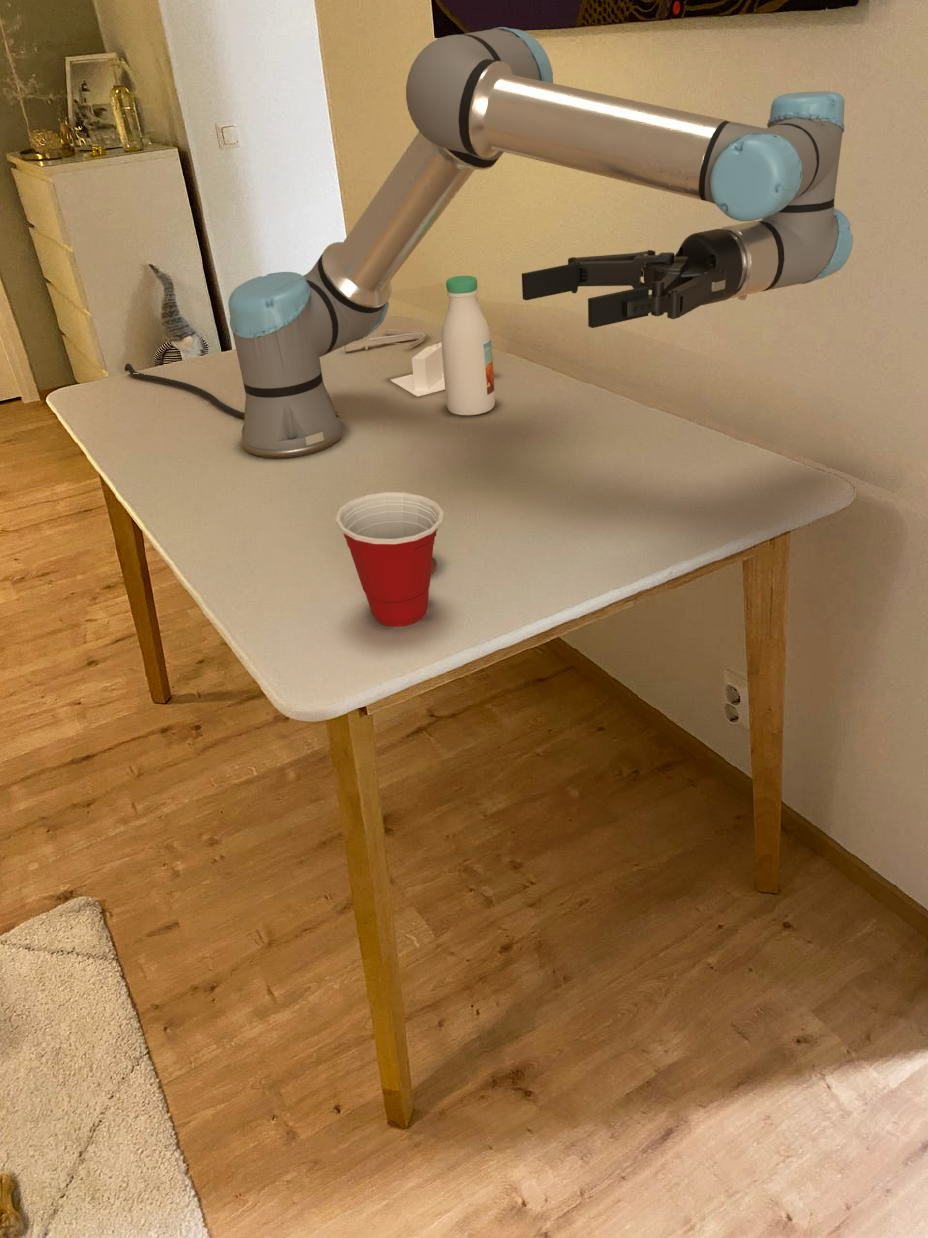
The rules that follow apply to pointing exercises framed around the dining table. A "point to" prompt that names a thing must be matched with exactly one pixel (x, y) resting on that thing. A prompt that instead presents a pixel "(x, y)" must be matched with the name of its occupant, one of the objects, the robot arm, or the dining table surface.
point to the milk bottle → (466, 351)
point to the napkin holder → (425, 372)
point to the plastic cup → (392, 551)
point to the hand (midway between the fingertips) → (554, 299)
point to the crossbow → (389, 339)
